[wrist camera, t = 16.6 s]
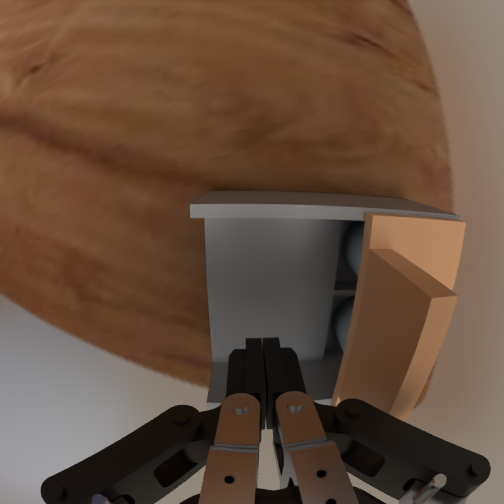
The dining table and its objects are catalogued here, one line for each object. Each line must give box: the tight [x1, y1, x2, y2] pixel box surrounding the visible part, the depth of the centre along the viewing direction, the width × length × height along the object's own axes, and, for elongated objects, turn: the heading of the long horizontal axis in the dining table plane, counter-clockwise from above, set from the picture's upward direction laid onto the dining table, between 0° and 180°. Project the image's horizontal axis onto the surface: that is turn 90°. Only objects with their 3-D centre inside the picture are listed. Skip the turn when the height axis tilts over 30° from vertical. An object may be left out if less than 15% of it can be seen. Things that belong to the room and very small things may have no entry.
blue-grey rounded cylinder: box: [342, 220, 365, 276], centre depth 16 cm, size 4×4×5 cm
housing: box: [190, 190, 460, 409], centre depth 17 cm, size 14×12×7 cm
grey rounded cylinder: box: [331, 296, 355, 352], centre depth 18 cm, size 4×4×5 cm
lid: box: [331, 212, 466, 422], centre depth 11 cm, size 6×12×6 cm, turn 179°
